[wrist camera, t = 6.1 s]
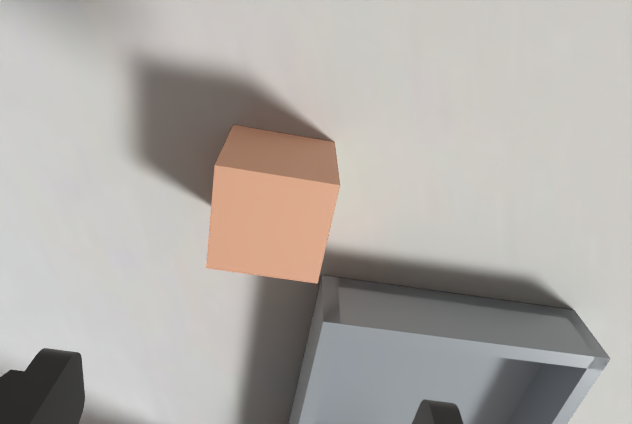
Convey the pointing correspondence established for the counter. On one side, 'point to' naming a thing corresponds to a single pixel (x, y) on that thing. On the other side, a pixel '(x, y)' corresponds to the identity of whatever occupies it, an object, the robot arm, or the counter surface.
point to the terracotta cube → (272, 204)
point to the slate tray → (440, 357)
